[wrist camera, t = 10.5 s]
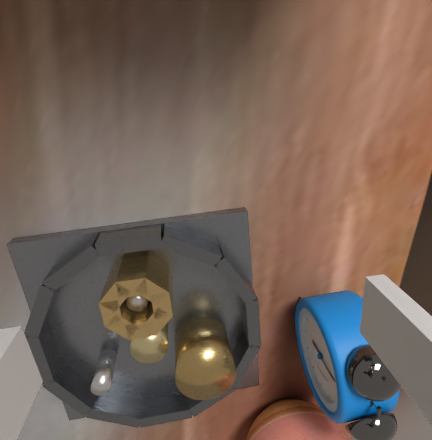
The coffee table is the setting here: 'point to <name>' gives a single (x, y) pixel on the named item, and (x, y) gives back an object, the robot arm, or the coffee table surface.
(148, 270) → the octagonal brass tube
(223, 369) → the carrier
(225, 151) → the coffee table surface
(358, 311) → the alarm clock
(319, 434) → the vase
